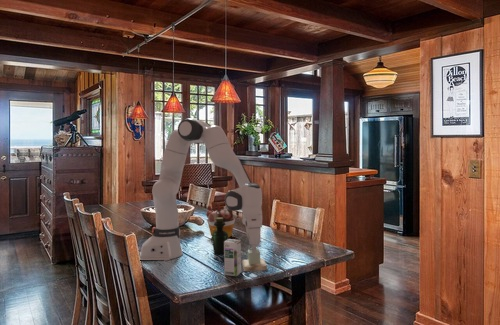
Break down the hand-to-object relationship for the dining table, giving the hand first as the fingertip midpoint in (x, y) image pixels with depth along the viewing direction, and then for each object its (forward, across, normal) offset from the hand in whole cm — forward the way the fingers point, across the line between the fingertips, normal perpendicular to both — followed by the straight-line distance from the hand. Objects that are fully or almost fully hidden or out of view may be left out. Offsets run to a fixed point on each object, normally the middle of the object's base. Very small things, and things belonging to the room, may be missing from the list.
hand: (252, 250), depth 176 cm
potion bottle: (+8, -24, -14) cm, 29 cm away
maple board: (+8, 0, +1) cm, 8 cm away
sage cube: (+6, 0, +1) cm, 6 cm away
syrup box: (+8, +7, -9) cm, 14 cm away
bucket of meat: (+8, -58, -12) cm, 60 cm away
